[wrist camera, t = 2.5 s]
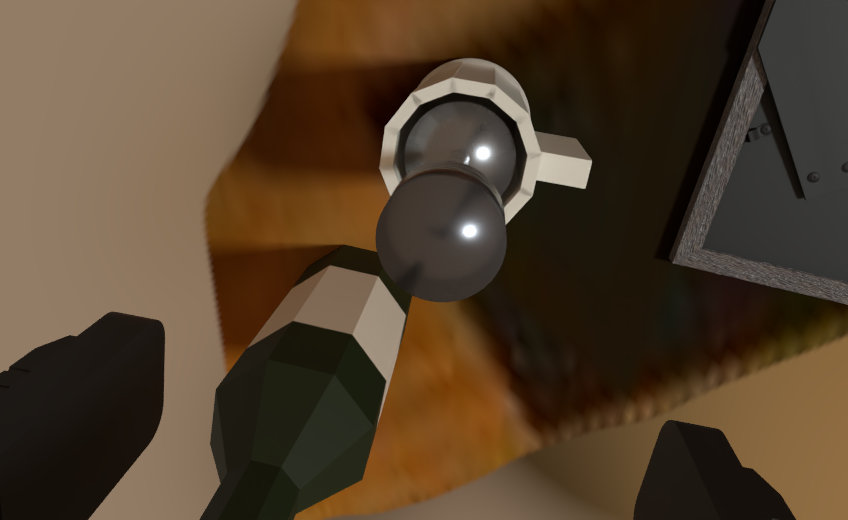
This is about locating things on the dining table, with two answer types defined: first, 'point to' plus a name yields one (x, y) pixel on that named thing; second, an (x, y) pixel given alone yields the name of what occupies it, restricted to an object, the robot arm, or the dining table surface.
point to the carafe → (507, 99)
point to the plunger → (449, 204)
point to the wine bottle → (308, 391)
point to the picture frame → (780, 160)
